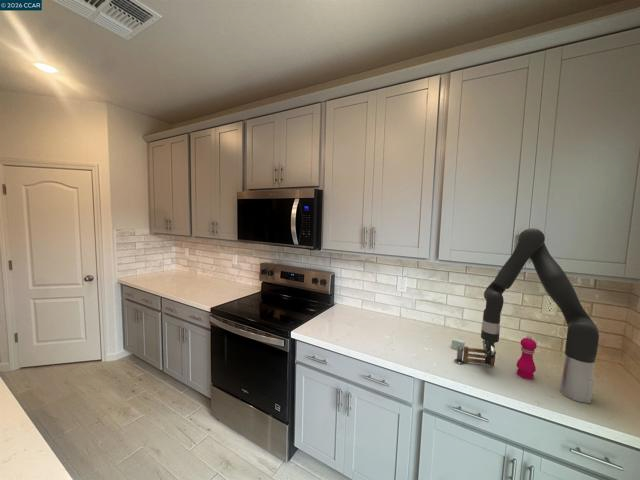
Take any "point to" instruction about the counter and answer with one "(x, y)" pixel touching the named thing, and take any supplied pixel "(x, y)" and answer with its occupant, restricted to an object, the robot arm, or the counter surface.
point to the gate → (466, 355)
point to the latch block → (457, 343)
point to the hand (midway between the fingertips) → (487, 364)
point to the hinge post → (459, 356)
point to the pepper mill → (527, 358)
